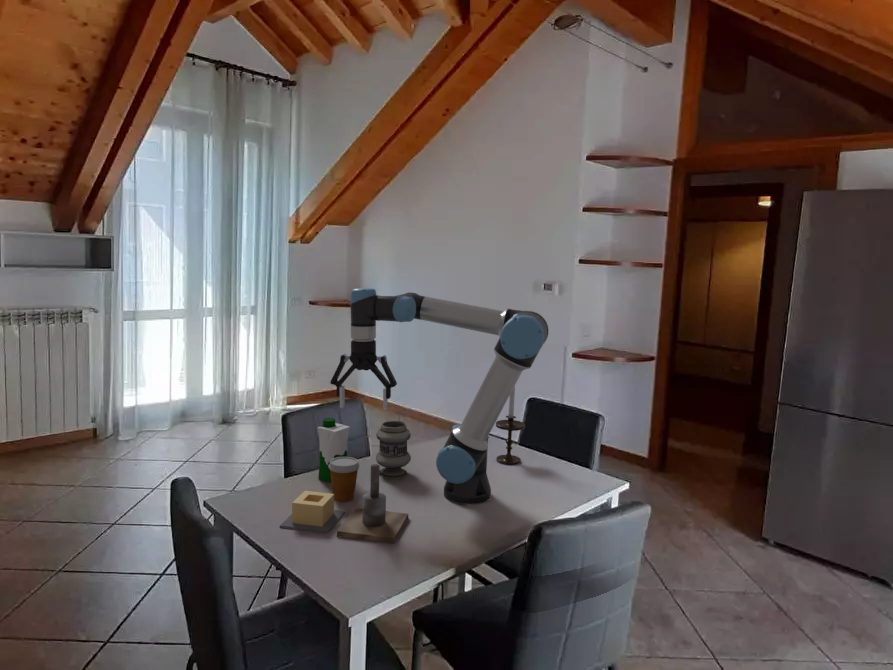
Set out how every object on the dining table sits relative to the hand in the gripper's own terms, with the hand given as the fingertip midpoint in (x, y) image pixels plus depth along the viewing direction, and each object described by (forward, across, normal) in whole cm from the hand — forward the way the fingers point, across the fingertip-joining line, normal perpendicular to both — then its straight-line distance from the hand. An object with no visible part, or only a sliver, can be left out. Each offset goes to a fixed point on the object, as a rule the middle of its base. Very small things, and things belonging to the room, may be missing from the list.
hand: (363, 408), depth 195 cm
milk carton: (+29, +14, -14) cm, 35 cm away
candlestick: (+30, -43, -46) cm, 70 cm away
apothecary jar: (+29, -4, -23) cm, 37 cm away
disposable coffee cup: (+29, +6, +2) cm, 30 cm away
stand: (+29, -8, +19) cm, 36 cm away
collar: (+28, +10, +18) cm, 35 cm away
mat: (+29, +10, +18) cm, 36 cm away
